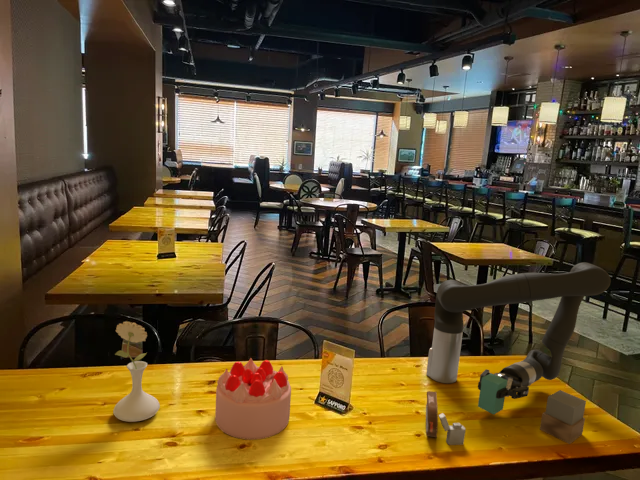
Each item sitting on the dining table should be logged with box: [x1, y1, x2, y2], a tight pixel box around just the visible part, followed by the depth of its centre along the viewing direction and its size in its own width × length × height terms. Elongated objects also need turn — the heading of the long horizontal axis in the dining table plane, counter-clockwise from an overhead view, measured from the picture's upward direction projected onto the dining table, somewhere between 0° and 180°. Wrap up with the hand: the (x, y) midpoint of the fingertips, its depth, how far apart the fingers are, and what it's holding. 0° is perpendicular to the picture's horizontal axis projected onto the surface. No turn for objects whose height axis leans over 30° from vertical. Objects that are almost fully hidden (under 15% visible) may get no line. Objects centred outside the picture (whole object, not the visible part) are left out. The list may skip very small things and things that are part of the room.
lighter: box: [438, 412, 466, 446], centre depth 118 cm, size 7×2×8 cm, turn 98°
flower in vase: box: [113, 321, 161, 423], centre depth 120 cm, size 13×11×25 cm
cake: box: [214, 357, 292, 441], centre depth 123 cm, size 20×20×14 cm
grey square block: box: [544, 390, 587, 425], centre depth 127 cm, size 7×7×5 cm
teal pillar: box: [477, 372, 507, 415], centre depth 132 cm, size 5×5×9 cm
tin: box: [425, 390, 439, 438], centre depth 125 cm, size 15×3×8 cm, turn 168°
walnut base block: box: [539, 411, 586, 445], centre depth 128 cm, size 8×8×5 cm
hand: (488, 390), depth 130 cm, fingers closed on teal pillar, 5 cm apart
